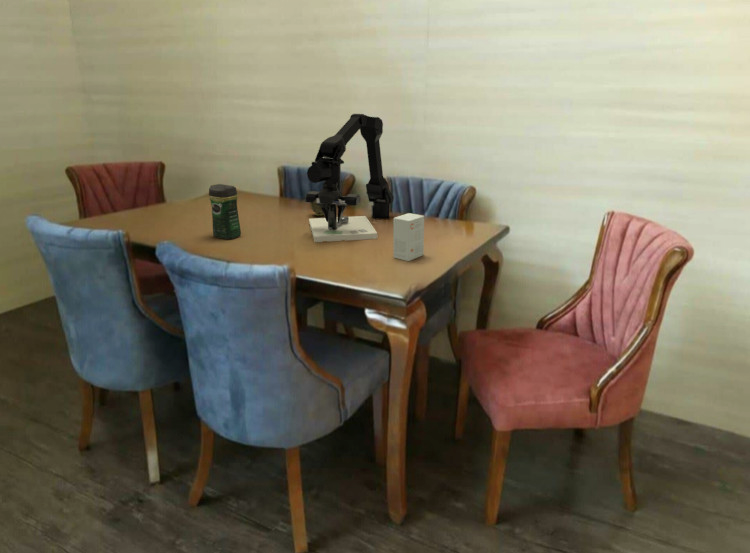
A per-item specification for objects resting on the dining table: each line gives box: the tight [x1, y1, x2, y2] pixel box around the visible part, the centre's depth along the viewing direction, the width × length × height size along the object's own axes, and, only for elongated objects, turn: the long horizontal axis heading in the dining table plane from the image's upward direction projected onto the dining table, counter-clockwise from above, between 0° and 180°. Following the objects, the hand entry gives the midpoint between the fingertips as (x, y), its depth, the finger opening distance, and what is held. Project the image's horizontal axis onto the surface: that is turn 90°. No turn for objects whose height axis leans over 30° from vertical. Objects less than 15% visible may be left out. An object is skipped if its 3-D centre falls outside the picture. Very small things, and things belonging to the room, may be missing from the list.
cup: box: [309, 200, 324, 218], centre depth 230 cm, size 8×7×8 cm
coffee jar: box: [208, 183, 242, 240], centre depth 201 cm, size 10×8×19 cm
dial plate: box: [308, 215, 378, 243], centre depth 210 cm, size 22×25×2 cm
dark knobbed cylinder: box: [327, 202, 350, 230], centre depth 206 cm, size 14×4×9 cm, turn 161°
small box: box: [392, 212, 425, 262], centre depth 179 cm, size 8×6×13 cm
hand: (333, 222), depth 203 cm, fingers open, 4 cm apart
